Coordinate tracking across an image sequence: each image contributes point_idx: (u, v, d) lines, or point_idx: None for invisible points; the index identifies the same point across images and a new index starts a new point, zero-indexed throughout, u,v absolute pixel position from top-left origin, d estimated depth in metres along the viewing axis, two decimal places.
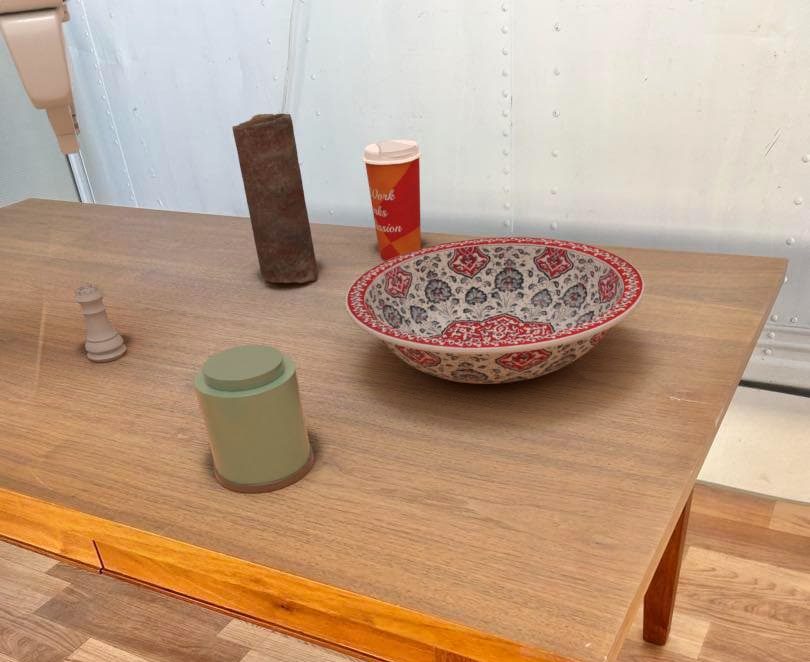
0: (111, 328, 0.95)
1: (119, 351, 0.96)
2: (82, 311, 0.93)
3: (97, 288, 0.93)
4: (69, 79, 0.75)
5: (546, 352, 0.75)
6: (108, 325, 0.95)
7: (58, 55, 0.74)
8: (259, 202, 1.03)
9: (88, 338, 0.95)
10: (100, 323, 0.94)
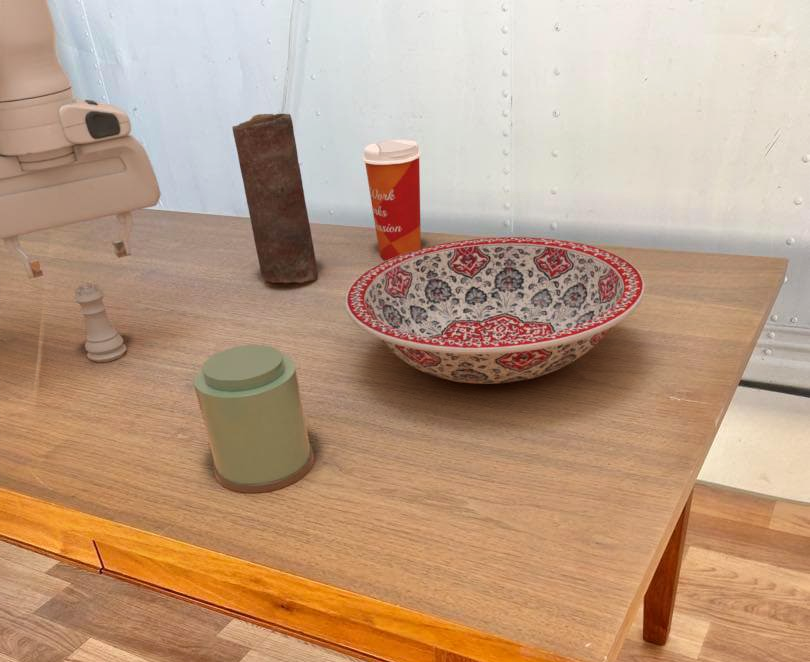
0: (111, 328, 0.95)
1: (119, 351, 0.96)
2: (82, 311, 0.93)
3: (97, 288, 0.93)
4: None
5: (546, 352, 0.75)
6: (108, 325, 0.95)
7: None
8: (259, 202, 1.03)
9: (88, 338, 0.95)
10: (100, 323, 0.94)
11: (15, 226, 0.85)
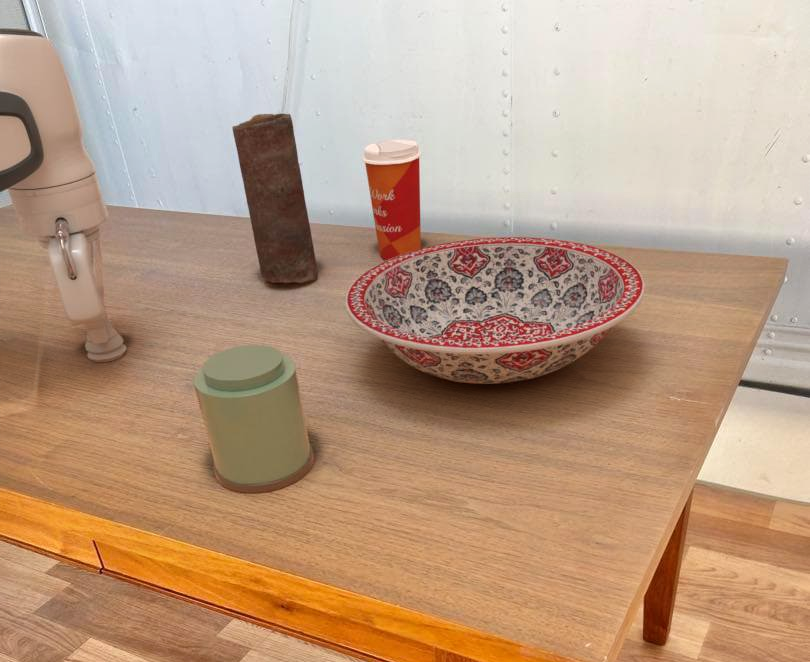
0: (111, 328, 0.95)
1: (119, 351, 0.96)
2: None
3: None
4: None
5: (546, 352, 0.75)
6: (108, 325, 0.95)
7: None
8: (259, 202, 1.03)
9: (88, 338, 0.95)
10: None
11: (103, 296, 0.89)
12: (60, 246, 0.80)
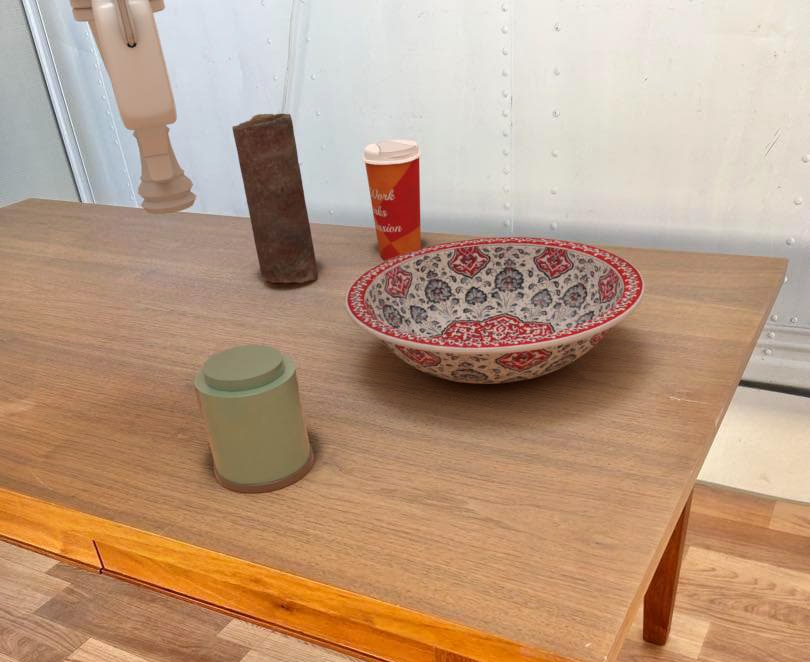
0: (176, 163, 0.66)
1: (188, 198, 0.66)
2: (136, 133, 0.64)
3: None
4: None
5: (546, 352, 0.75)
6: (172, 156, 0.65)
7: None
8: (259, 202, 1.03)
9: (143, 177, 0.65)
10: None
11: None
12: None
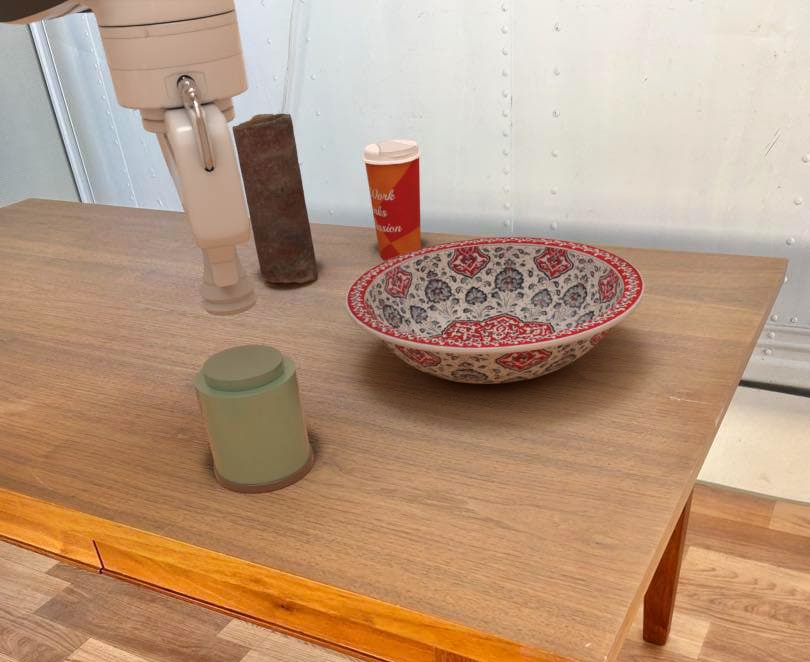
0: (240, 265, 0.64)
1: (250, 300, 0.65)
2: None
3: None
4: None
5: (546, 352, 0.75)
6: (236, 259, 0.64)
7: None
8: (259, 202, 1.03)
9: (206, 279, 0.64)
10: None
11: None
12: (194, 112, 0.49)
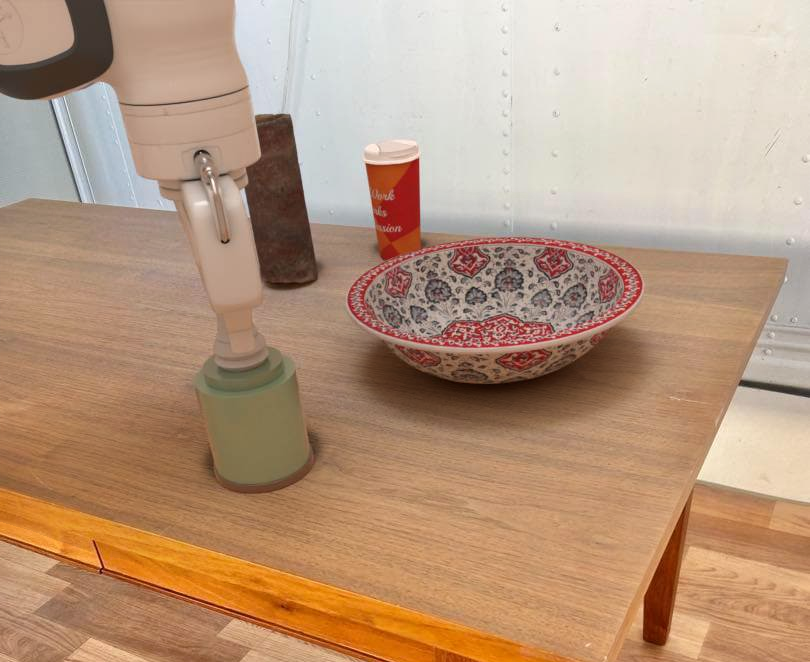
0: (252, 323, 0.67)
1: (261, 356, 0.68)
2: None
3: None
4: None
5: (546, 352, 0.75)
6: None
7: None
8: (259, 202, 1.03)
9: (219, 337, 0.67)
10: None
11: None
12: (211, 190, 0.52)
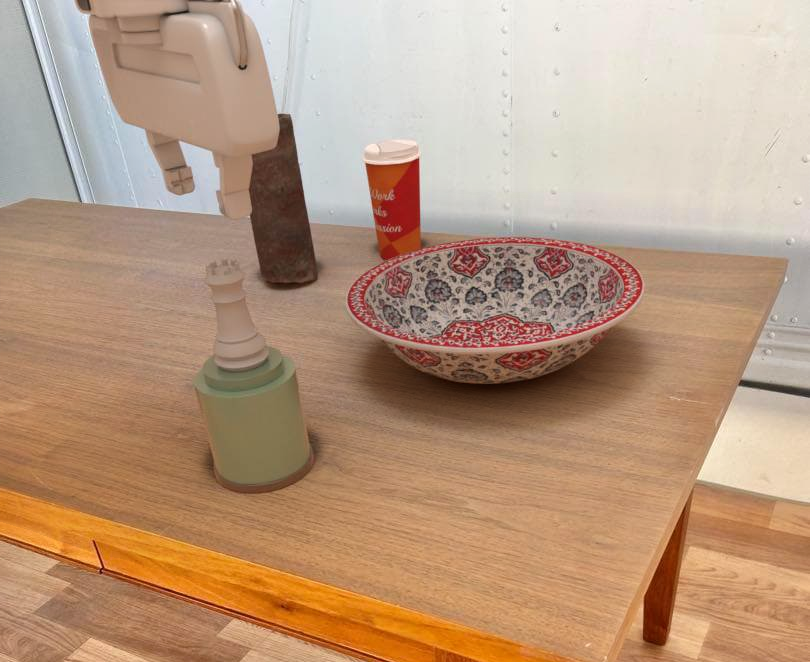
0: (252, 323, 0.67)
1: (261, 356, 0.68)
2: (214, 299, 0.65)
3: (238, 265, 0.64)
4: (109, 93, 0.63)
5: (546, 352, 0.75)
6: (248, 318, 0.66)
7: None
8: (259, 202, 1.03)
9: (219, 337, 0.67)
10: (239, 316, 0.66)
11: None
12: (230, 2, 0.47)
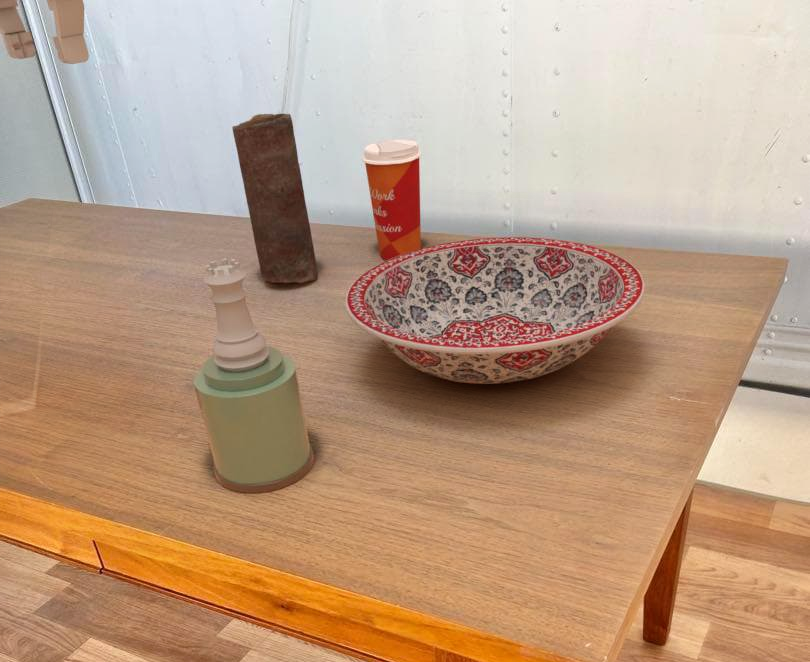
0: (252, 323, 0.67)
1: (261, 356, 0.68)
2: (214, 299, 0.65)
3: (238, 265, 0.64)
4: None
5: (546, 352, 0.75)
6: (248, 318, 0.66)
7: None
8: (259, 202, 1.03)
9: (219, 337, 0.67)
10: (239, 316, 0.66)
11: None
12: None
